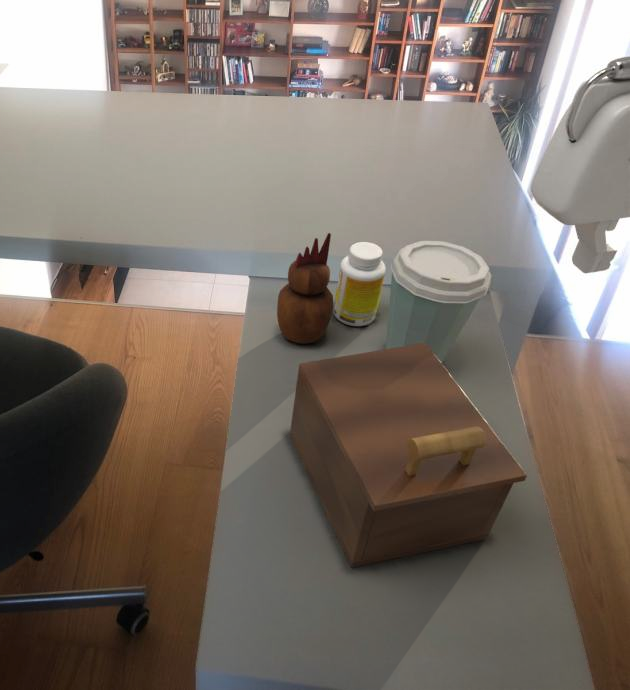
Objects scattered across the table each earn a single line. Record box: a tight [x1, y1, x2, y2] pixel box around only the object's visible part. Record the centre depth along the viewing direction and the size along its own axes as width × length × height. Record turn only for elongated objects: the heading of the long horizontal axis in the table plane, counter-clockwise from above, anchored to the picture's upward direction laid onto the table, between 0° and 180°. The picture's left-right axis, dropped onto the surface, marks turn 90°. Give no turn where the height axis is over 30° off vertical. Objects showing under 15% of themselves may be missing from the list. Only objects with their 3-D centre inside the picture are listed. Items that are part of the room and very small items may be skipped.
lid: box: [298, 343, 528, 511], centre depth 63 cm, size 18×14×5 cm
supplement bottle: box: [333, 241, 386, 327], centre depth 89 cm, size 6×6×10 cm
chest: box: [289, 369, 514, 568], centre depth 68 cm, size 17×14×10 cm
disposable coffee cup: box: [385, 240, 493, 364], centre depth 81 cm, size 11×11×15 cm
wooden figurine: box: [276, 232, 334, 345], centre depth 84 cm, size 7×6×15 cm
